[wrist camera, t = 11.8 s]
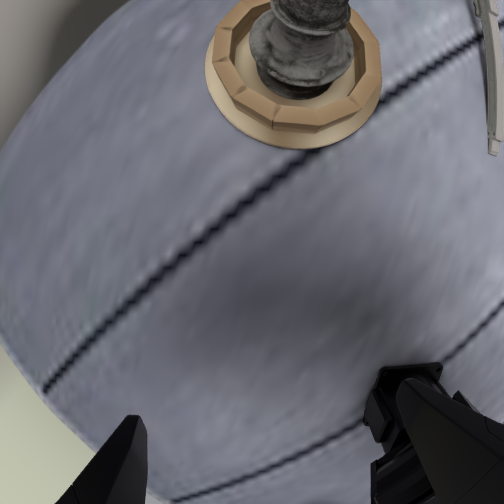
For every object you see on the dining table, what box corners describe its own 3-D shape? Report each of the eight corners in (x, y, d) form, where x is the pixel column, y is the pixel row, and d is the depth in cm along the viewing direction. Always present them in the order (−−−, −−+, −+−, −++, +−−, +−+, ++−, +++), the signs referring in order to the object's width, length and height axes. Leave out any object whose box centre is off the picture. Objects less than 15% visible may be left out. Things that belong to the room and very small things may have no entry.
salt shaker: (301, 122, 17) (350, 26, 6) (232, 66, 17) (195, -59, 5) (357, 68, 16) (438, -35, 5) (291, 17, 16) (308, -108, 4)
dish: (372, 17, 16) (385, -5, 13) (377, 159, 19) (397, 154, 15) (216, 3, 17) (208, -22, 13) (200, 145, 19) (187, 136, 16)
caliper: (452, -23, 14) (479, -50, 8) (461, -19, 14) (487, -45, 8) (486, 153, 18) (535, 149, 12) (494, 156, 18) (543, 153, 12)
